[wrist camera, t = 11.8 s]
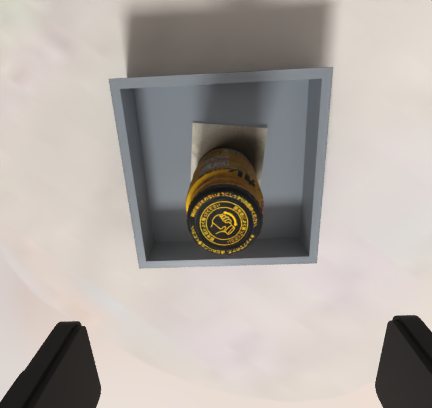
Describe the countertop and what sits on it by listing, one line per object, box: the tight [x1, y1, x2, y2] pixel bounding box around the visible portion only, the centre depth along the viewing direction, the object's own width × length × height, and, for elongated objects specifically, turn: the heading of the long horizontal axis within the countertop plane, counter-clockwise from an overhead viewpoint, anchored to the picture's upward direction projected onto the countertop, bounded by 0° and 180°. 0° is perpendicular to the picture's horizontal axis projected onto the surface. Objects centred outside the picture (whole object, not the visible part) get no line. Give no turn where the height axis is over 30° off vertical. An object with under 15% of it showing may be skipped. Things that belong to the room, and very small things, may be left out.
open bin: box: [109, 67, 333, 268], centre depth 30 cm, size 18×18×5 cm
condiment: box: [186, 123, 267, 255], centre depth 26 cm, size 7×8×12 cm
